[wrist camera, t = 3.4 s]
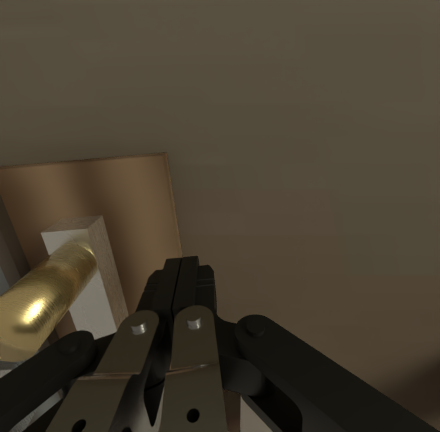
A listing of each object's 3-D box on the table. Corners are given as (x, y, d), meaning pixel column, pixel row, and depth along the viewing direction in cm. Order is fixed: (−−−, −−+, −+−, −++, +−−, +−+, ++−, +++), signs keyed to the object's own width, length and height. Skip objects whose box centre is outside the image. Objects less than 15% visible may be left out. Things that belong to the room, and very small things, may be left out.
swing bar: (157, 394, 20) (131, 522, 14) (113, 398, 20) (67, 528, 14) (112, 214, 15) (34, 287, 8) (52, 219, 15) (-73, 296, 8)
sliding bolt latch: (166, 152, 17) (158, 158, 14) (212, 455, 29) (212, 487, 26) (-150, 179, 17) (-215, 190, 14) (30, 471, 29) (12, 505, 26)
